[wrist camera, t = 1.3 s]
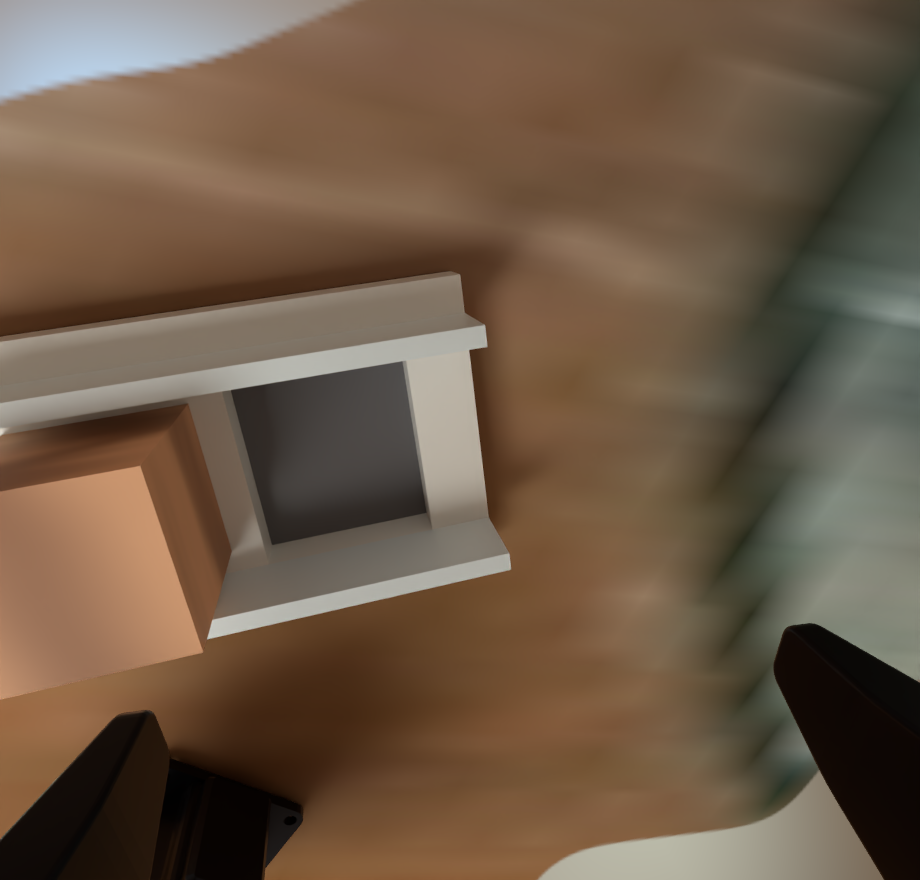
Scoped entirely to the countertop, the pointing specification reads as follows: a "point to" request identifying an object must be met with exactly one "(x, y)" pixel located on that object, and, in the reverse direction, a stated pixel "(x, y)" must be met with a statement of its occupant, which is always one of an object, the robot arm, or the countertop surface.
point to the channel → (299, 433)
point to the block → (105, 548)
